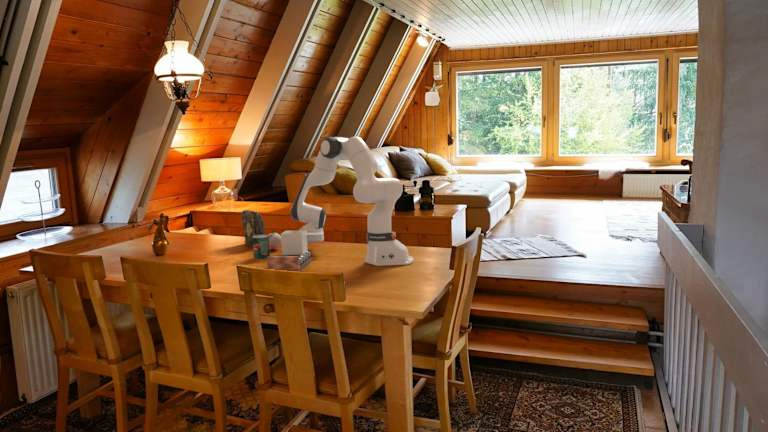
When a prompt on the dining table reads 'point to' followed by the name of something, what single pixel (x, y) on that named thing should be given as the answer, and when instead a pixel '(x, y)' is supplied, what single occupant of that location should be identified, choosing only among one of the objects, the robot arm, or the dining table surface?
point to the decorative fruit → (274, 240)
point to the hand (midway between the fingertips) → (299, 239)
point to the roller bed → (287, 263)
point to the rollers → (302, 257)
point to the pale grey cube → (294, 242)
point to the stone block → (252, 225)
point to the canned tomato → (261, 247)
